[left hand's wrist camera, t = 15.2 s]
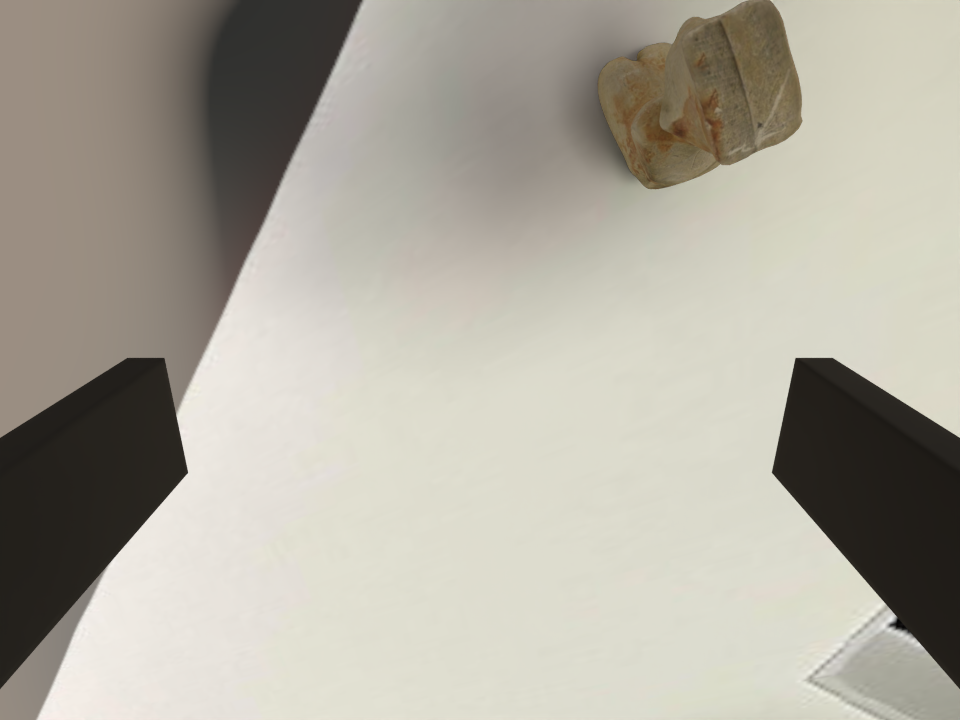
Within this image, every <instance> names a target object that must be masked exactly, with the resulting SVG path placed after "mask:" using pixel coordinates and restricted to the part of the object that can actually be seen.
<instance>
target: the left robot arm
mask: <svg viewBox="0 0 960 720" xmlns="http://www.w3.org/2000/svg"><path fill="white" fill-rule="evenodd" d="M187 473H188V470H187V465H186V460H185V456H184V451H183V446H182V441H181V436H180V431H179V427H178V422H177V417H176V412H175V407H174V402H173V398H172V393H171V388H170V383H169V378H168V373H167V368H166V364H165V359H164V358H127V359H125V360H124V361H122V362H120V363H119V364H117V365H116V366H114V367H112V368H111V369H109V370H108V371H106V372H104V373H103V374H101V375H100V376H98V377H96V378H95V379H93V380H92V381H90V382H89V383H87V384H85V385H84V386H82V387H81V388H79V389H77V390H76V391H74V392H73V393H71V394H69V395H68V396H66V397H65V398H63V399H61V400H60V401H58V402H57V403H55V404H54V405H52V406H50V407H49V408H47V409H46V410H44V411H42V412H41V413H39V414H38V415H36V416H34V417H33V418H31V419H30V420H28V421H26V422H25V423H23V424H22V425H20V426H19V427H17V428H15V429H14V430H12V431H10V432H9V433H7V434H6V435H4V436H3V437H1V438H0V689H1V687H2V686H3V685H4V684H5V683H6V682H7V680H8V679H9V678H10V677H11V676H12V675H13V674H14V672H15V671H16V670H17V669H18V668H19V667H20V666H21V664H22V663H23V662H24V661H25V660H26V659H27V657H28V656H29V655H30V654H31V653H32V652H33V651H34V649H35V648H36V647H37V646H38V645H39V644H40V642H41V641H42V640H43V639H44V638H45V637H46V636H47V634H48V633H49V632H50V631H51V630H52V629H53V628H54V626H55V625H56V624H57V623H58V622H59V621H60V620H61V618H62V617H63V616H64V615H65V614H66V613H67V611H68V610H69V609H70V608H71V607H72V606H73V605H74V603H75V602H76V601H77V600H78V599H79V598H80V597H81V595H82V594H83V593H84V592H85V591H86V590H87V588H88V587H89V586H90V585H91V584H92V583H93V581H94V580H95V579H96V578H97V577H98V576H99V575H100V573H101V572H102V571H103V570H104V569H105V568H106V567H107V565H108V564H109V563H110V562H111V561H112V560H113V559H114V557H115V556H116V555H117V554H118V553H119V552H120V550H121V549H122V548H123V547H124V546H125V545H126V544H127V542H128V541H129V540H130V539H131V538H132V537H133V535H134V534H135V533H136V532H137V531H138V530H139V529H140V527H141V526H142V525H143V524H144V523H145V522H146V521H147V519H148V518H149V517H150V516H151V515H152V514H153V512H154V511H155V510H156V509H157V508H158V507H159V506H160V504H161V503H162V502H163V501H164V500H165V499H166V497H167V496H168V495H169V494H170V493H171V492H172V491H173V489H174V488H175V487H176V486H177V485H178V484H179V483H180V481H181V480H182V479H183V478H184V477H185V476H186V474H187ZM772 473H773V474H774V476H775V477H776V478H777V479H778V480H779V481H780V483H781V484H782V485H783V486H784V487H785V488H786V489H787V491H788V492H789V493H790V494H791V495H792V496H793V497H794V499H795V500H796V501H797V502H798V503H799V504H800V506H801V507H802V508H803V509H804V510H805V511H806V512H807V514H808V515H809V516H810V517H811V518H812V519H813V521H814V522H815V523H816V524H817V525H818V526H819V527H820V529H821V530H822V531H823V532H824V533H825V534H826V535H827V537H828V538H829V539H830V540H831V541H832V542H833V544H834V545H835V546H836V547H837V548H838V549H839V550H840V552H841V553H842V554H843V555H844V556H845V557H846V559H847V560H848V561H849V562H850V563H851V564H852V565H853V567H854V568H855V569H856V570H857V571H858V572H859V573H860V575H861V576H862V577H863V578H864V579H865V580H866V582H867V583H868V584H869V585H870V586H871V587H872V588H873V590H874V591H875V592H876V593H877V594H878V595H879V597H880V598H881V599H882V600H883V601H884V602H885V603H886V605H887V606H888V607H889V608H890V609H891V610H892V611H893V613H894V614H895V615H896V616H897V617H898V618H899V620H900V621H901V622H902V623H903V624H904V625H905V626H906V628H907V629H908V630H909V631H910V632H911V633H912V634H913V636H914V637H915V638H916V639H917V640H918V641H919V643H920V644H921V645H922V646H923V647H924V648H925V649H926V651H927V652H928V653H929V654H930V655H931V656H932V658H933V659H934V660H935V661H936V662H937V663H938V664H939V666H940V667H941V668H942V669H943V670H944V671H945V672H946V674H947V675H948V676H949V677H950V678H951V679H952V681H953V682H954V683H955V684H956V685H957V686H958V687H959V689H960V438H959V437H957V436H956V435H954V434H953V433H951V432H950V431H948V430H946V429H945V428H943V427H942V426H940V425H938V424H937V423H935V422H934V421H932V420H930V419H929V418H927V417H926V416H924V415H922V414H921V413H919V412H918V411H916V410H915V409H913V408H911V407H910V406H908V405H907V404H905V403H903V402H902V401H900V400H899V399H897V398H895V397H894V396H892V395H891V394H889V393H887V392H886V391H884V390H883V389H881V388H879V387H878V386H876V385H875V384H873V383H872V382H870V381H868V380H867V379H865V378H864V377H862V376H860V375H859V374H857V373H856V372H854V371H852V370H851V369H849V368H848V367H846V366H844V365H843V364H841V363H840V362H838V361H836V360H835V359H833V358H796V359H795V364H794V368H793V373H792V378H791V383H790V388H789V393H788V397H787V402H786V407H785V412H784V417H783V422H782V427H781V431H780V436H779V441H778V446H777V451H776V456H775V460H774V465H773V470H772Z"/></svg>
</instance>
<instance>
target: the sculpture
mask: <svg viewBox="0 0 960 720" xmlns="http://www.w3.org/2000/svg"><path fill="white" fill-rule="evenodd" d="M598 94H599V100H600V103H601V106H602V110H603V113H604V115H605V118H606V120H607V123H608V125H609V127H610V129H611V132H612V134H613V136H614V138H615V140H616V142H617V144H618V146H619V148H620V150H621V152H622V154H623V156H624V158H625V160H626V163H627V165H628V168H629V169H630V171H631V173H632V174H633V175H635V176H636V177H637V179H638V180H639V181H640V182H641V183H642V184H643V185H644V186H645V187H646V188H648V189H660V188H665V187H669V186H673V185H676V184H680V183H683V182H685V181H688V180H691V179H694V178H696V177H699V176H701V175H703V174H705V173H707V172H709V171H711V170H713V169H714V168H716V167H717V166H719V165H720V164H721V165H731V164H733V163H736V162H738V161H740V160H742V159H744V158H747V157H748V156H750V155H751V154H753V153H755V152H757V151H760V150H762V149H764V148H767V147H770V146H773V145H776V144H779V143H780V142H782V141H784V140H786V139H788V138H789V137H790V136H791V135H793V134H794V133H795V132H796V131H797V130H798V128H799V127H800V125H801V123H802V118H801V107H802V96H801V89H800V83H799V79H798V75H797V71H796V68H795V65H794V61H793V58H792V55H791V52H790V48H789V44H788V40H787V36H786V31H785V27H784V23H783V20H782V18H781V15H780V13H779V11H778V10H777V8H776V7H775V6H774V4H773V3H772V2H771V1H770V0H749V1H746V2H742V3H740V4H739V5H737V6H736V7H734V8H733V9H731V10H729V11H727V12H726V13H724V14H722V15H719V16H716V17H712V18H709V19H703V18H699V17H692V18H690V19H688V20H687V21H685V23H684V24H683V25H682V26H681V28H680V30H679V32H678V34H677V37H676V39H675V41H674V43H673V45H671V44H669V43H657V44H653V45H650V46H647V47H645V48H644V49H643V50H641V51H640V52H639V53H638V55H637V61H632V60H629V59H627V58H625V57H619V58H617V59H614V60H612V61H610V62H609V63H607V64H606V65H605V67H604V68H603V69H602V71H601V72H600V75H599V78H598Z"/></svg>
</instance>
